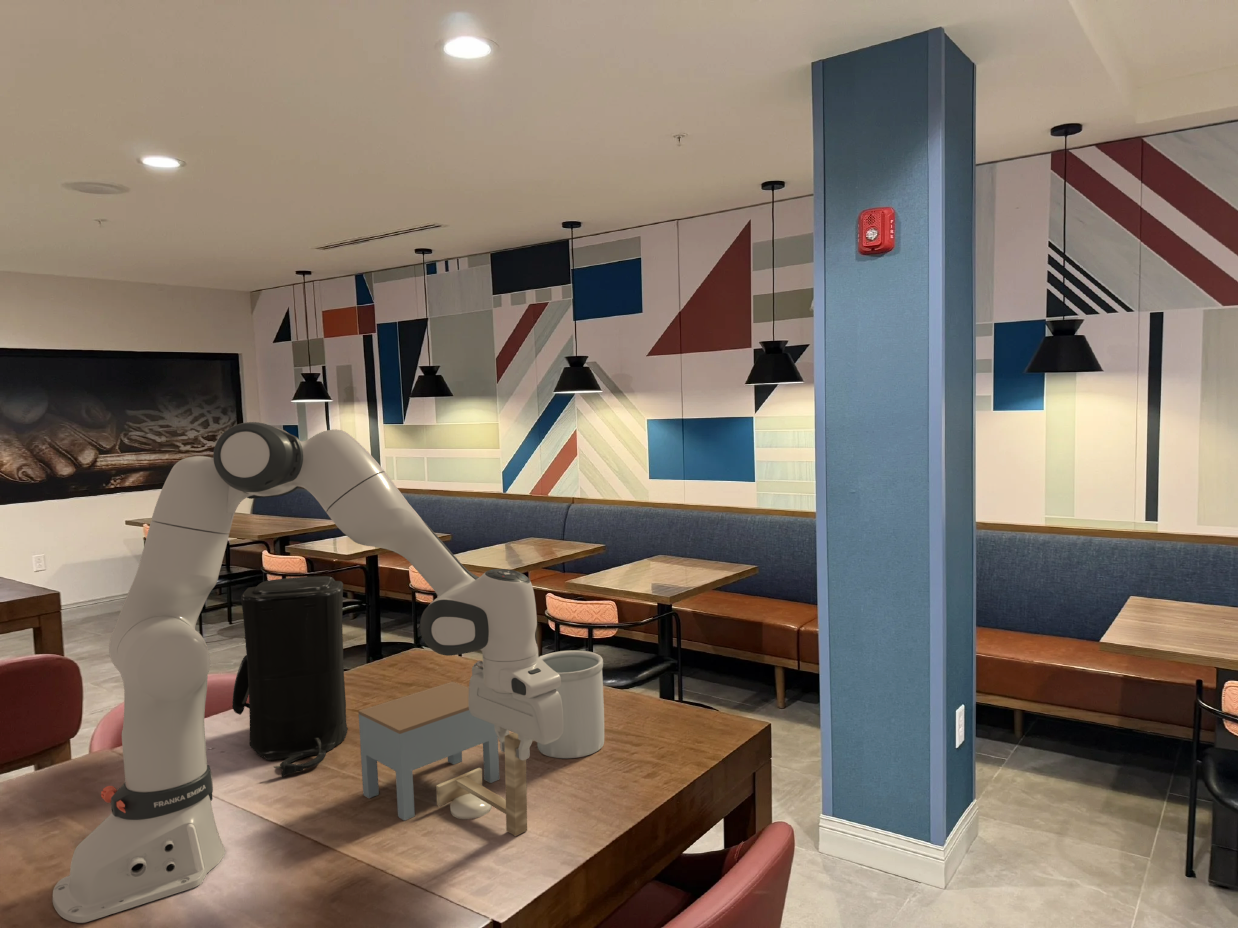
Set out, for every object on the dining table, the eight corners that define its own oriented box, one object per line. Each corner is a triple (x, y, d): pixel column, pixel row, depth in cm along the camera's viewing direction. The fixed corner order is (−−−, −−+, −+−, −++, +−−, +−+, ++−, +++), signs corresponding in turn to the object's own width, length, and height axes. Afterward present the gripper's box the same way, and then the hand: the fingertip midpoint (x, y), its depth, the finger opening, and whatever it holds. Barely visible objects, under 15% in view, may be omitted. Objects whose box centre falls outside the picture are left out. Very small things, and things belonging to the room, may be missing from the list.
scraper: (499, 844, 128) (497, 747, 127) (436, 804, 141) (434, 715, 139) (542, 822, 135) (541, 729, 133) (479, 786, 147) (477, 700, 146)
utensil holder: (523, 757, 161) (519, 670, 159) (547, 728, 175) (544, 648, 174) (595, 763, 157) (591, 674, 156) (613, 732, 172) (610, 651, 170)
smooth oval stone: (465, 823, 136) (464, 816, 136) (442, 809, 141) (442, 803, 141) (499, 808, 141) (499, 801, 140) (476, 795, 146) (476, 789, 146)
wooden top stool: (404, 820, 137) (399, 730, 136) (363, 794, 147) (358, 710, 146) (499, 779, 152) (495, 697, 150) (456, 758, 161) (452, 681, 160)
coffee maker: (332, 706, 192) (324, 566, 190) (389, 748, 167) (381, 586, 165) (229, 733, 178) (219, 581, 176) (275, 783, 153) (263, 606, 151)
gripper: (457, 663, 135) (461, 744, 136) (536, 689, 121) (540, 780, 122) (487, 653, 140) (491, 732, 141) (568, 678, 125) (571, 765, 126)
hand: (515, 754), depth 131 cm, fingers closed on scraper, 2 cm apart
